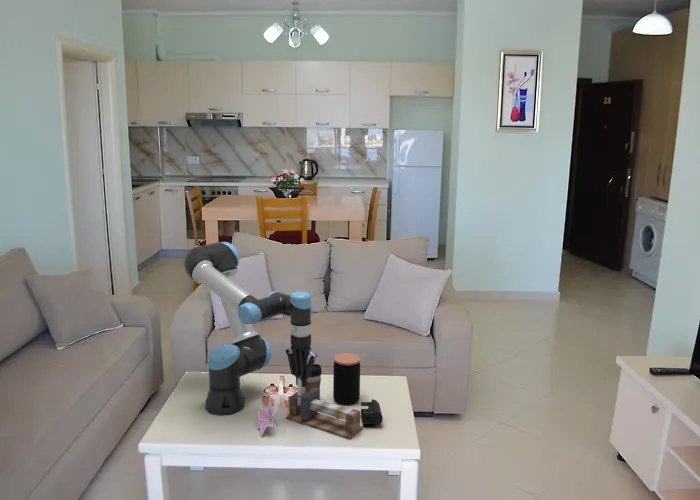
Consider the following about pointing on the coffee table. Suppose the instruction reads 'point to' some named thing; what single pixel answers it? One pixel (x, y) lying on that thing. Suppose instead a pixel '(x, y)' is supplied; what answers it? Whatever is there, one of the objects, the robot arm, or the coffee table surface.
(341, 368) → the coffee jar
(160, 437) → the coffee table surface
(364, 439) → the coffee table surface
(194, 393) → the coffee table surface
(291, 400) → the pipe stand
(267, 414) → the lily
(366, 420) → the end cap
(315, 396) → the collar
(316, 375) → the coffee cup
